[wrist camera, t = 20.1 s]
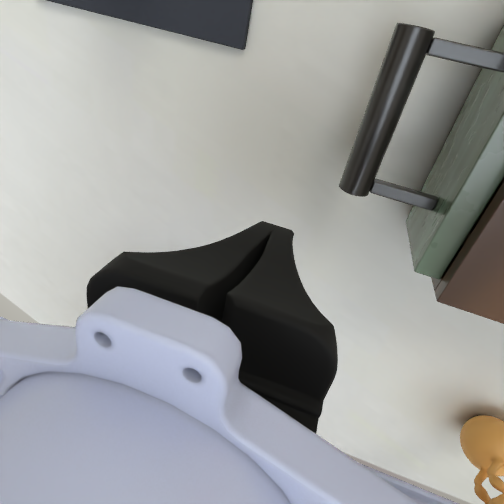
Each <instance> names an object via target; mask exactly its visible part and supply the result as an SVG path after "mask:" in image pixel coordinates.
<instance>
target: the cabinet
mask: <svg viewBox="0 0 504 504" xmlns="http://www.w3.org/2000/svg"><path fill="white" fill-rule="evenodd" d="M431 278H432V282H433V287H434V291H435V295H436V299H437V301H438V302H441V303H444V304H447V305H450V306H452V307H455V308H458V309H461V310H464V311H467V312H470V313H473V314H476V315H479V316H482V317H485V318H488V319H491V320H494V321H497V322H500V323H503V324H504V182H503V184H502V186H501V187H500V189H499V190H498V192H497V193H496V195H495V197H494V198H493V200H492V201H491V203H490V205H489V206H488V208H487V209H486V211H485V212H484V214H483V216H482V217H481V219H480V220H479V222H478V224H477V225H476V227H475V228H474V230H473V232H472V233H471V235H470V236H469V238H468V239H467V241H466V243H465V244H464V245H463V243H462V245H461V246H460V248H459V249H458V251H457V253H456V254H455V256H454V257H453V259H452V261H451V262H450V264H449V265H448V267H447V269H446V270H445V272H444V273H443V275H442V277H441V278H440V279H436V278H433V277H431Z"/></svg>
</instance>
